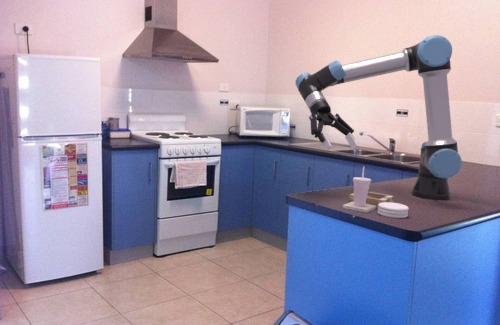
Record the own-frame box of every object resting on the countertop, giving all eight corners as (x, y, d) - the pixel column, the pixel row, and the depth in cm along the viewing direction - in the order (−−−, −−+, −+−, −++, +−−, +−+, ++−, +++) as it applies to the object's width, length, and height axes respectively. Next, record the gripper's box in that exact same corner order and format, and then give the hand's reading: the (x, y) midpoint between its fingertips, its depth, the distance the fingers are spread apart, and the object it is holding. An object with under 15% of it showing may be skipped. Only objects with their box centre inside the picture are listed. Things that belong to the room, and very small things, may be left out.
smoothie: (371, 205, 164) (375, 167, 162) (364, 208, 159) (368, 168, 157) (354, 202, 168) (357, 164, 166) (347, 205, 163) (351, 166, 161)
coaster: (395, 220, 150) (396, 209, 150) (371, 213, 158) (372, 203, 158) (413, 217, 156) (415, 207, 156) (389, 210, 164) (390, 200, 164)
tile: (351, 204, 170) (352, 201, 170) (375, 208, 165) (376, 205, 165) (342, 208, 162) (342, 205, 162) (367, 212, 157) (367, 209, 157)
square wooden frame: (360, 197, 183) (361, 190, 182) (393, 203, 176) (394, 195, 175) (348, 202, 172) (349, 194, 172) (382, 208, 165) (383, 200, 165)
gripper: (336, 113, 190) (360, 153, 179) (288, 111, 176) (311, 155, 166) (346, 100, 185) (371, 141, 174) (298, 97, 171) (322, 141, 161)
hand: (342, 148), depth 170 cm, fingers open, 13 cm apart
